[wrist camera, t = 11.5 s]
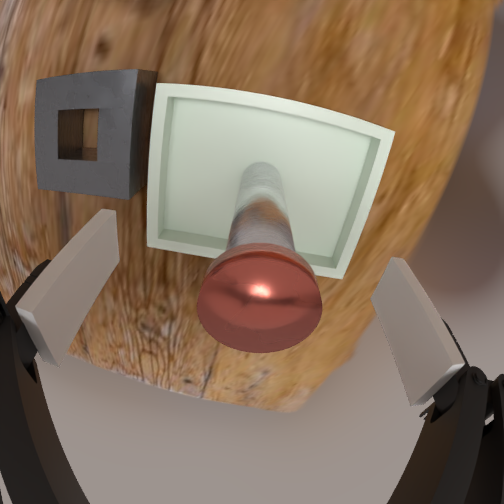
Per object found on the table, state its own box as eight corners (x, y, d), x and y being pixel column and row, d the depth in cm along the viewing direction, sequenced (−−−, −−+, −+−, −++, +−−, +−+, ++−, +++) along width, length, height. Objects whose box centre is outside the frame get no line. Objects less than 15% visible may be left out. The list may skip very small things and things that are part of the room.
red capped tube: (230, 200, 24) (194, 343, 11) (239, 150, 21) (201, 251, 8) (281, 209, 24) (301, 357, 11) (293, 160, 22) (340, 274, 9)
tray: (155, 233, 26) (147, 246, 24) (167, 83, 19) (156, 83, 17) (336, 264, 28) (342, 279, 25) (382, 127, 20) (395, 131, 18)
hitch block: (61, 174, 23) (38, 188, 19) (63, 77, 18) (36, 80, 14) (147, 183, 24) (129, 199, 20) (157, 71, 18) (138, 69, 15)
